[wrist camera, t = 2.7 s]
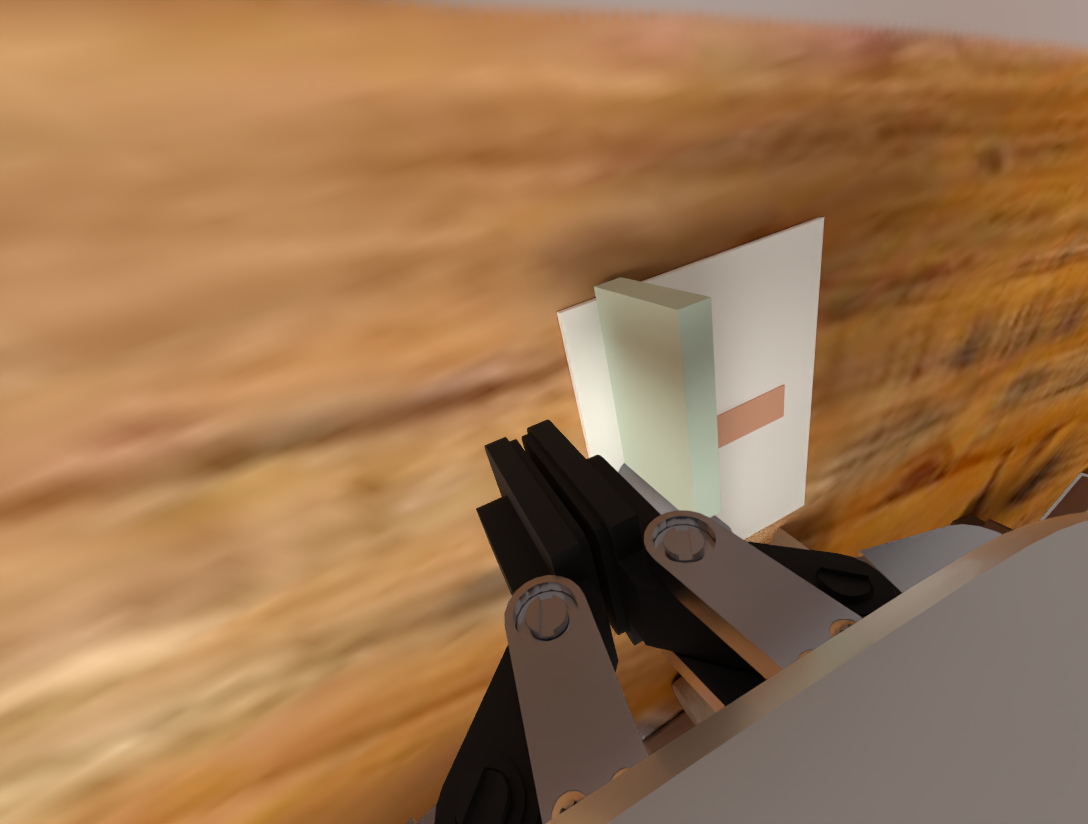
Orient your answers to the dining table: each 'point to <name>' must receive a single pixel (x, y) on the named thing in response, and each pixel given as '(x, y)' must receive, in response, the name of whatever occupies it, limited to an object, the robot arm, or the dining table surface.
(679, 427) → the hinged fence panel
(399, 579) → the dining table surface
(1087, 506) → the food container
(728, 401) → the card
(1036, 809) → the robot arm
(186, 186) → the dining table surface
